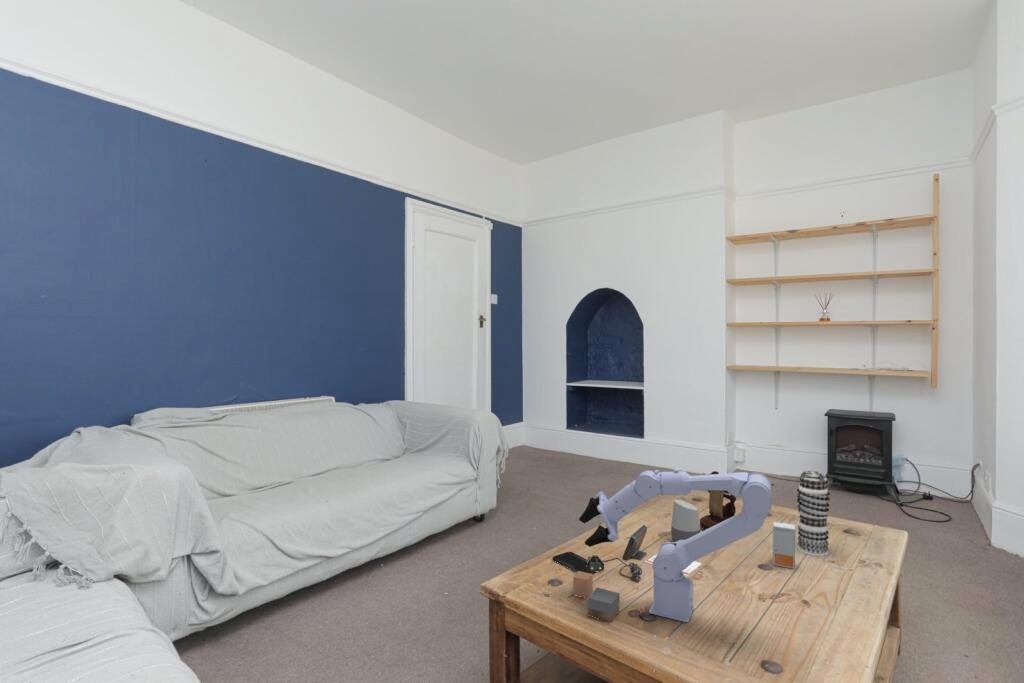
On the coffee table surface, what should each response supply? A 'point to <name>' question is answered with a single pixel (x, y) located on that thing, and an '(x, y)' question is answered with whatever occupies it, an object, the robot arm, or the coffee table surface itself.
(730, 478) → the robot arm
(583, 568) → the phone
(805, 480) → the decorative candle
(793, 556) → the skincare box
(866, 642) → the coffee table surface
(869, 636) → the coffee table surface
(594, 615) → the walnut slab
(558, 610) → the coffee table surface
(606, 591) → the charcoal slab
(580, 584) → the terracotta block
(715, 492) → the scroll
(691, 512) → the smart speaker
